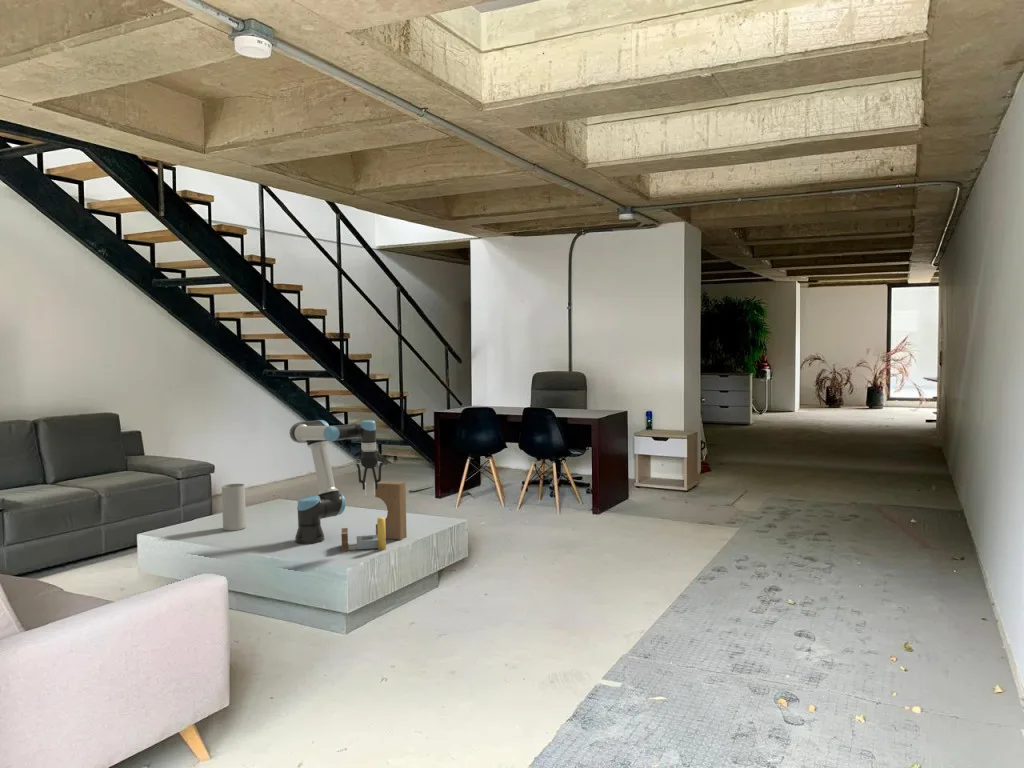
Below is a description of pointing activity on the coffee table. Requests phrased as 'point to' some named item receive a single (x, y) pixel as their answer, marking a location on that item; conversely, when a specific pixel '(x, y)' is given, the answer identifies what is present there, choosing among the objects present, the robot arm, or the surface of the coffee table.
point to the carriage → (367, 542)
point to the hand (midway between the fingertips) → (370, 495)
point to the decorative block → (393, 508)
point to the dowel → (381, 533)
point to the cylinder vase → (233, 507)
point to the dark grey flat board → (352, 547)
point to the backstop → (344, 539)
